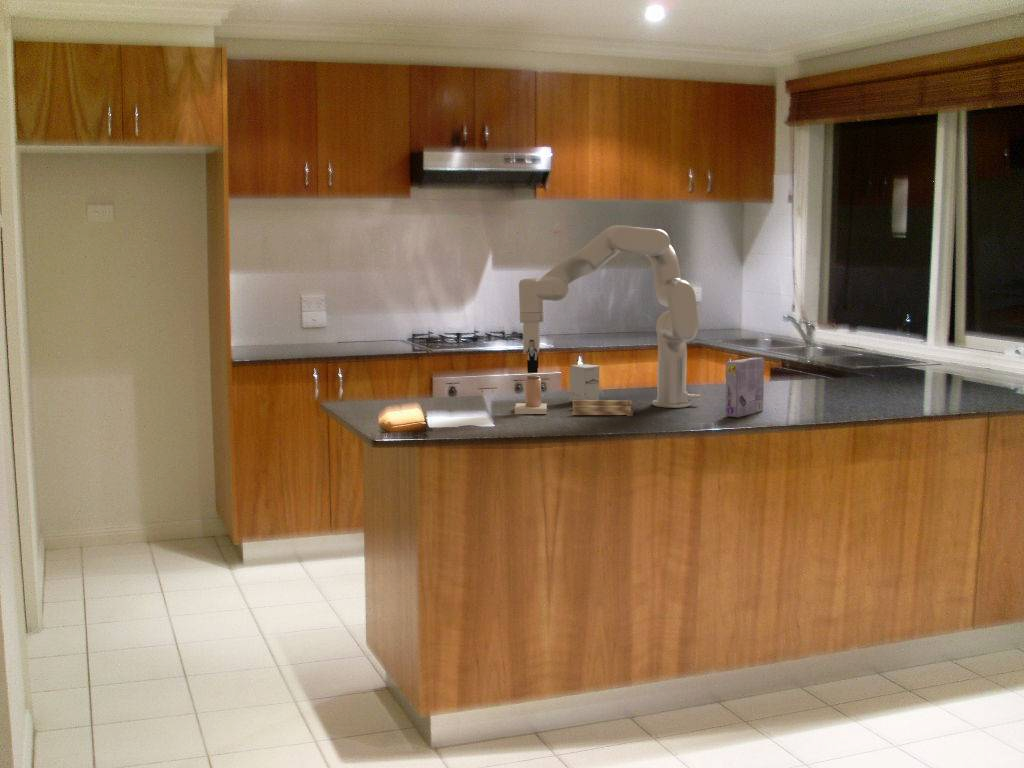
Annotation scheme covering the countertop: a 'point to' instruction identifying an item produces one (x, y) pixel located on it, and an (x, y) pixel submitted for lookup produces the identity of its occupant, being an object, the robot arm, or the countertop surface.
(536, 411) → the block
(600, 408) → the wooden tray
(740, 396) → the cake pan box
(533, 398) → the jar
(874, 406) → the countertop surface
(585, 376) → the supplement box
